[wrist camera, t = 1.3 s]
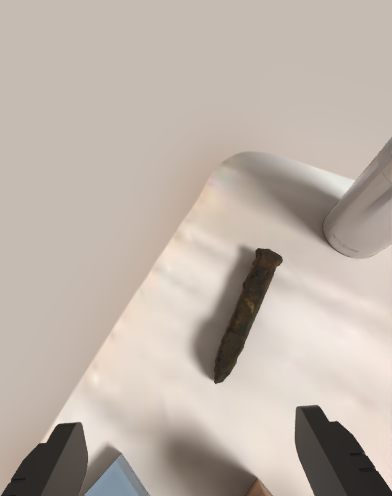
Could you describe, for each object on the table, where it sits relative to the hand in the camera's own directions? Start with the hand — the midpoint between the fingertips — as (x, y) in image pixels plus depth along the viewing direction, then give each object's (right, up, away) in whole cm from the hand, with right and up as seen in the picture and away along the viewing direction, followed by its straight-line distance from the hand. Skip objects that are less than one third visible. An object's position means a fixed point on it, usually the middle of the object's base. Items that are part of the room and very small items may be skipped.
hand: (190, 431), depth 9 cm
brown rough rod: (+8, -3, +25) cm, 27 cm away
